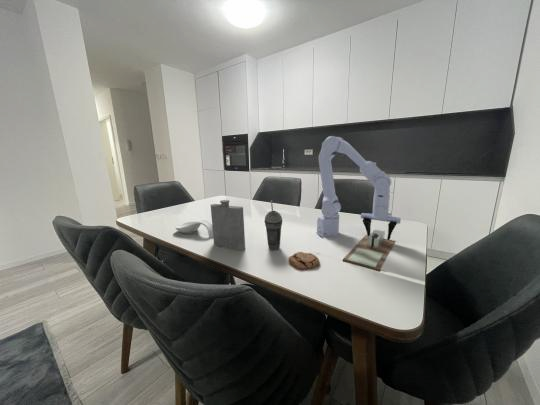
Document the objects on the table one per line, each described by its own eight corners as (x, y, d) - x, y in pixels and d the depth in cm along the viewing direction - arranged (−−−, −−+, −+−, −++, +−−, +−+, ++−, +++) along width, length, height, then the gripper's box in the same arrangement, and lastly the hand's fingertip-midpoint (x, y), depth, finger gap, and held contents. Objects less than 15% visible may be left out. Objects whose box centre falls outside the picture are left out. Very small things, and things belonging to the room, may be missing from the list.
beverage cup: (270, 253, 86) (268, 203, 82) (262, 246, 92) (260, 199, 88) (286, 249, 89) (285, 200, 85) (277, 243, 96) (276, 197, 91)
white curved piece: (171, 233, 112) (169, 220, 110) (190, 226, 122) (188, 214, 120) (205, 241, 100) (203, 226, 99) (222, 233, 110) (221, 219, 109)
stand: (380, 271, 71) (381, 254, 69) (342, 261, 78) (343, 245, 77) (395, 243, 92) (397, 229, 91) (365, 237, 99) (366, 224, 98)
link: (373, 238, 95) (374, 229, 94) (384, 240, 93) (385, 231, 92) (366, 247, 87) (367, 237, 86) (377, 249, 84) (378, 239, 83)
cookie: (322, 269, 73) (323, 261, 73) (291, 271, 73) (291, 263, 72) (314, 256, 83) (315, 248, 83) (286, 257, 83) (286, 250, 82)
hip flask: (246, 248, 91) (244, 200, 87) (241, 251, 88) (238, 202, 84) (217, 241, 99) (213, 197, 95) (210, 245, 96) (206, 199, 91)
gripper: (403, 205, 88) (399, 237, 91) (364, 201, 97) (363, 231, 100) (400, 209, 82) (397, 243, 85) (359, 204, 91) (358, 235, 94)
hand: (378, 237), depth 92 cm, fingers open, 7 cm apart
